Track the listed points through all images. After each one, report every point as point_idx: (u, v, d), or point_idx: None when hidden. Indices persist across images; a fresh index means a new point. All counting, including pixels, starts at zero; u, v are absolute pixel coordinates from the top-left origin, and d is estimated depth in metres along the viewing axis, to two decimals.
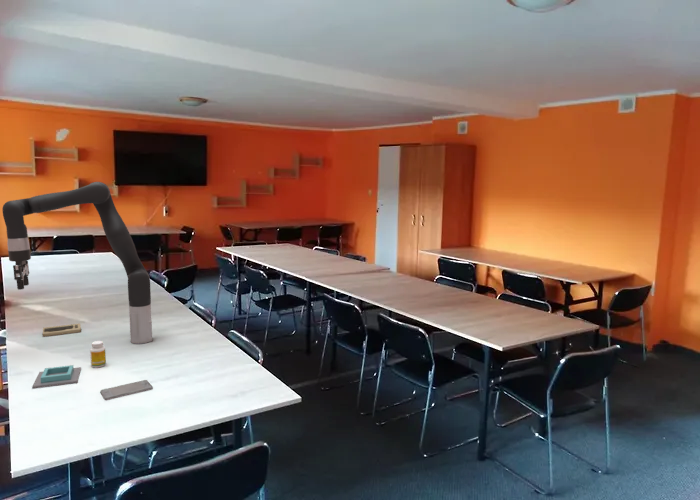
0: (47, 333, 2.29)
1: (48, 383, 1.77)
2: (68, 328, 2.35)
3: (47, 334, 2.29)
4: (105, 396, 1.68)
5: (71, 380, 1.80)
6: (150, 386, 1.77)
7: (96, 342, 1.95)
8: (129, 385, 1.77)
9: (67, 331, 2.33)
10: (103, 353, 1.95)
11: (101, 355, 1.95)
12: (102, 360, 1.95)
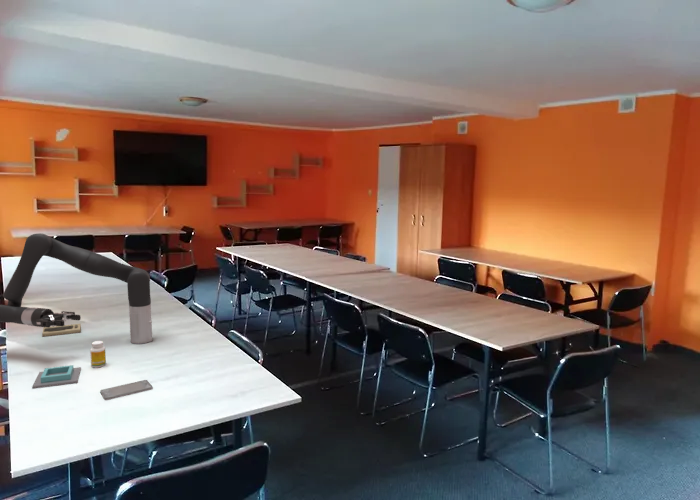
0: (47, 333, 2.30)
1: (48, 383, 1.77)
2: (68, 328, 2.35)
3: (47, 334, 2.29)
4: (105, 396, 1.68)
5: (71, 380, 1.80)
6: (150, 386, 1.77)
7: (96, 342, 1.95)
8: (129, 385, 1.77)
9: (66, 331, 2.33)
10: (103, 353, 1.95)
11: (101, 355, 1.95)
12: (102, 360, 1.95)
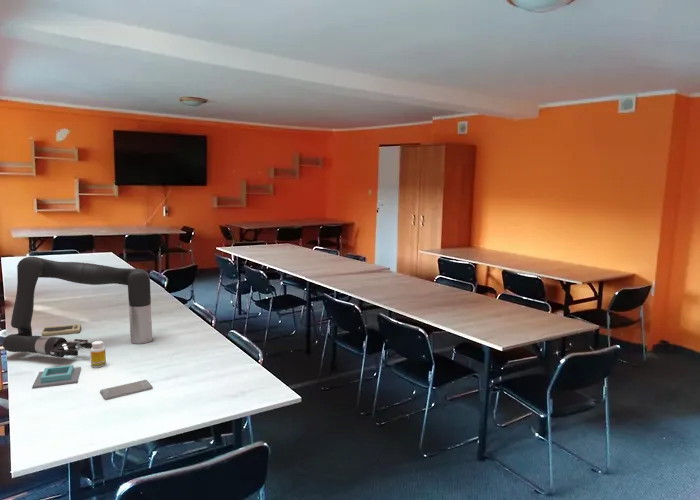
0: (46, 333, 2.30)
1: (48, 383, 1.77)
2: (67, 328, 2.35)
3: (46, 334, 2.30)
4: (105, 396, 1.68)
5: (71, 380, 1.80)
6: (150, 386, 1.77)
7: (96, 342, 1.95)
8: (129, 385, 1.77)
9: (66, 332, 2.33)
10: (103, 353, 1.95)
11: (101, 355, 1.95)
12: (102, 360, 1.95)
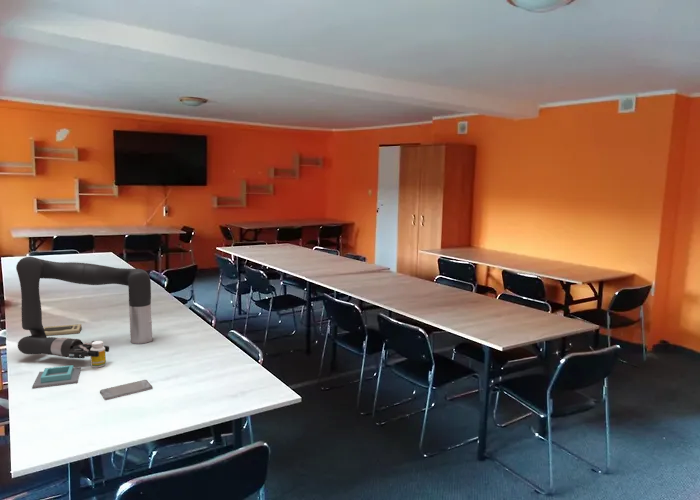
0: (45, 333, 2.30)
1: (48, 383, 1.77)
2: (67, 328, 2.34)
3: None
4: (105, 396, 1.68)
5: (71, 380, 1.80)
6: (150, 386, 1.77)
7: (96, 342, 1.95)
8: (129, 385, 1.77)
9: (65, 332, 2.33)
10: (103, 353, 1.95)
11: (101, 355, 1.95)
12: (102, 360, 1.95)
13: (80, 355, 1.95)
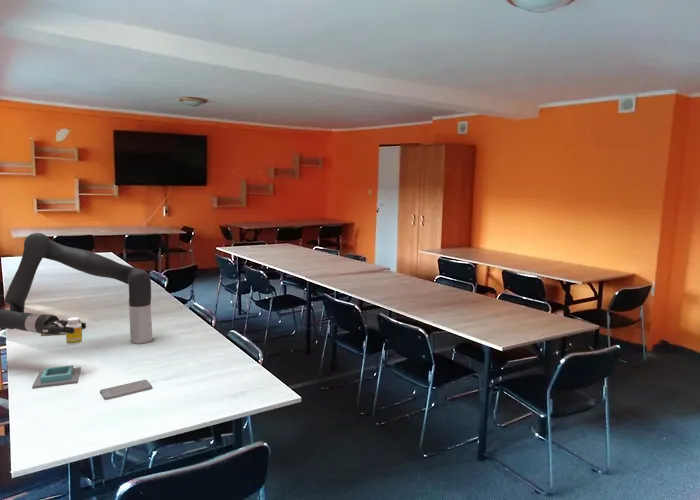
0: None
1: (48, 383, 1.77)
2: None
3: None
4: (105, 396, 1.68)
5: (71, 380, 1.80)
6: (150, 386, 1.77)
7: (72, 318, 1.87)
8: (129, 385, 1.77)
9: None
10: (79, 330, 1.87)
11: (77, 332, 1.86)
12: (78, 337, 1.86)
13: (55, 331, 1.87)
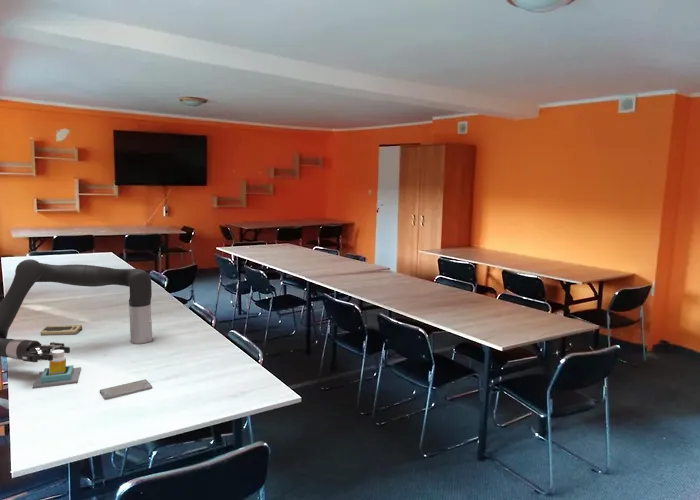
0: (44, 332, 2.31)
1: (48, 383, 1.77)
2: (65, 329, 2.34)
3: (44, 333, 2.31)
4: (105, 396, 1.68)
5: (71, 380, 1.80)
6: (149, 385, 1.77)
7: (57, 351, 1.82)
8: (128, 385, 1.78)
9: (63, 332, 2.32)
10: (63, 363, 1.82)
11: (60, 365, 1.81)
12: (61, 371, 1.82)
13: None
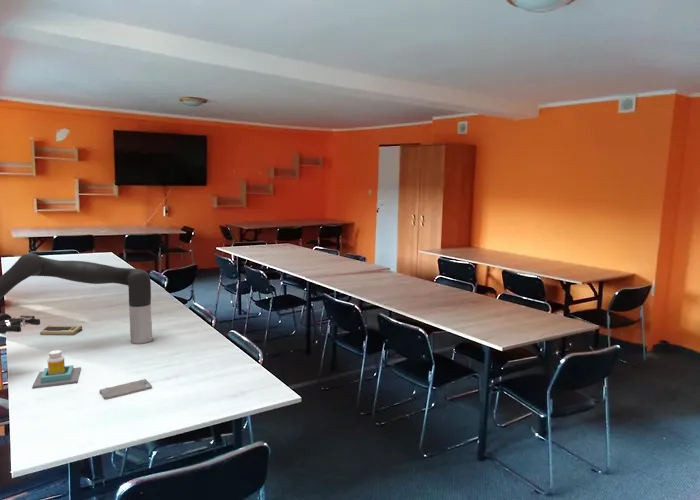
0: (44, 332, 2.31)
1: (48, 383, 1.77)
2: (64, 329, 2.33)
3: (44, 333, 2.31)
4: (105, 396, 1.69)
5: (71, 380, 1.80)
6: (149, 385, 1.77)
7: (54, 352, 1.82)
8: (128, 384, 1.78)
9: (61, 332, 2.32)
10: (62, 363, 1.82)
11: (59, 365, 1.81)
12: (61, 371, 1.82)
13: None
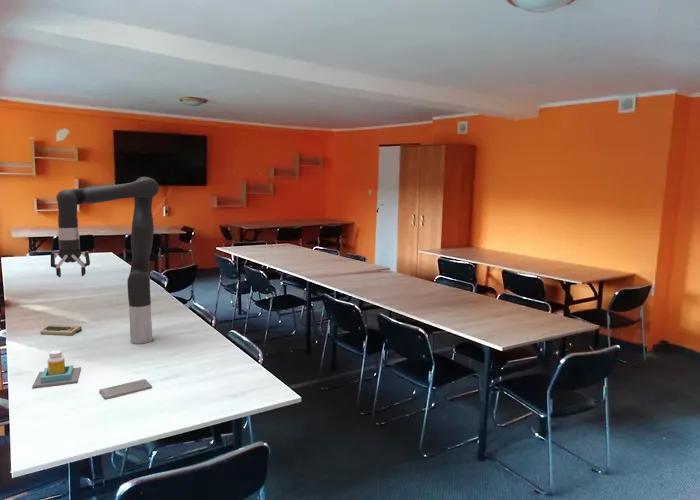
0: (44, 331, 2.32)
1: (48, 383, 1.77)
2: (63, 329, 2.33)
3: (43, 332, 2.32)
4: (104, 395, 1.69)
5: (71, 380, 1.80)
6: (149, 385, 1.78)
7: (54, 351, 1.82)
8: (128, 384, 1.78)
9: (60, 333, 2.31)
10: (62, 363, 1.82)
11: (60, 365, 1.81)
12: (61, 371, 1.82)
13: None
